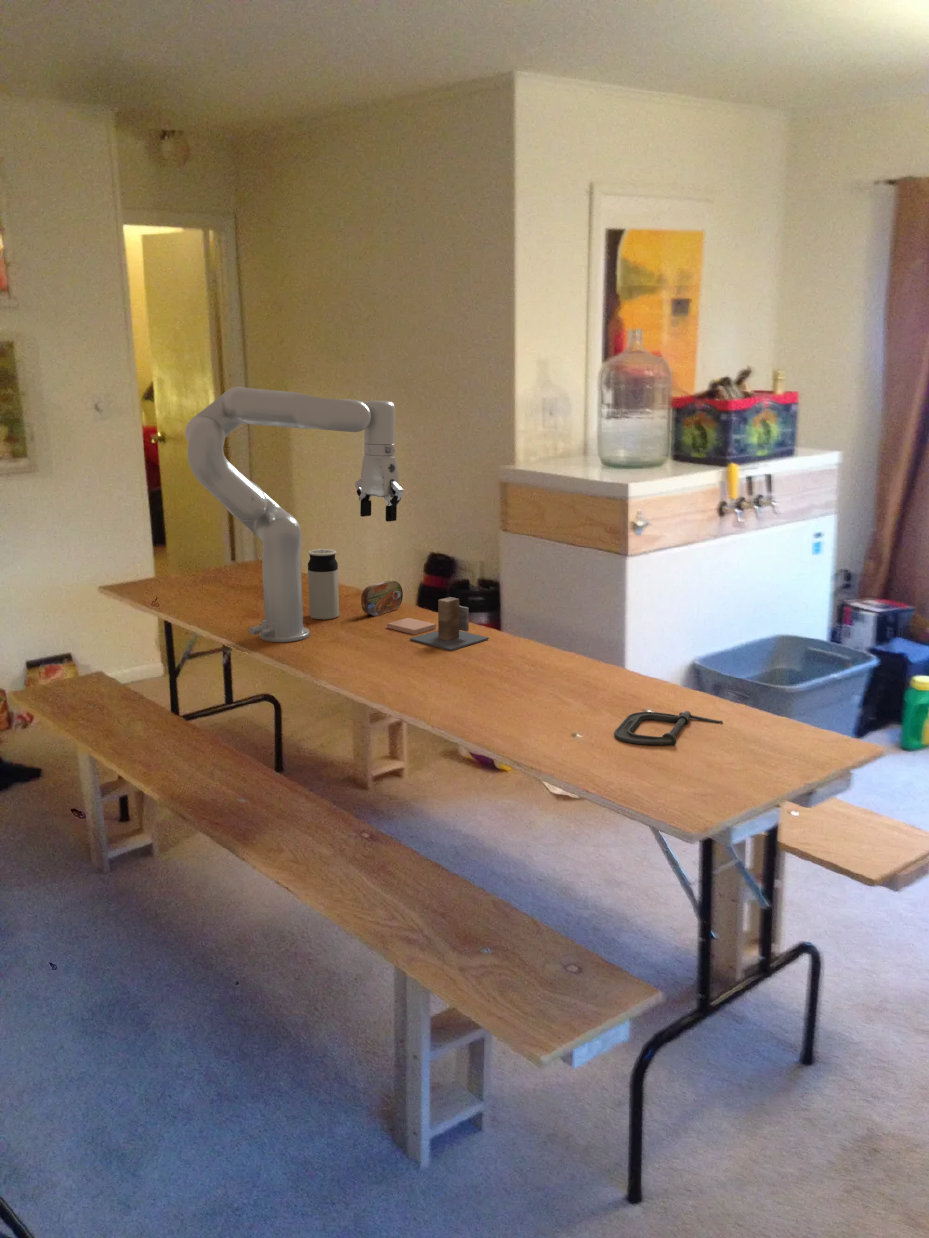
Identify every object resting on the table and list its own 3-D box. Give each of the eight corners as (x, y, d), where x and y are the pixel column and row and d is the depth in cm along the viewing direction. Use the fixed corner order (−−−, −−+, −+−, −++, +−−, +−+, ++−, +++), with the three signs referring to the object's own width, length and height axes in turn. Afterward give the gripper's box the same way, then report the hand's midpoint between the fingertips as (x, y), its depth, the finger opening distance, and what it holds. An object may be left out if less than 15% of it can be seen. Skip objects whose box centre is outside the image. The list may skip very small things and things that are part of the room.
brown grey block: (454, 642, 264) (454, 603, 261) (431, 636, 269) (431, 598, 267) (468, 638, 268) (468, 599, 265) (445, 632, 273) (445, 594, 270)
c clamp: (639, 710, 219) (640, 697, 218) (722, 725, 211) (723, 712, 210) (602, 741, 202) (603, 727, 201) (691, 758, 194) (692, 744, 193)
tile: (414, 630, 273) (435, 624, 279) (387, 623, 279) (408, 617, 285) (414, 636, 273) (435, 630, 279) (387, 629, 280) (408, 623, 286)
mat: (450, 650, 259) (450, 649, 259) (410, 640, 268) (410, 638, 268) (488, 639, 269) (488, 637, 269) (448, 629, 278) (448, 627, 278)
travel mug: (336, 620, 287) (335, 554, 282) (307, 620, 287) (305, 554, 282) (340, 613, 294) (339, 548, 290) (312, 612, 295) (309, 548, 290)
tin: (367, 618, 289) (367, 588, 287) (359, 617, 291) (358, 586, 289) (404, 608, 300) (403, 578, 298) (395, 606, 302) (395, 577, 300)
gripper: (413, 453, 265) (412, 521, 269) (368, 447, 277) (367, 513, 281) (391, 454, 260) (389, 524, 264) (345, 448, 271) (345, 515, 275)
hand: (378, 518), depth 272 cm, fingers open, 9 cm apart
